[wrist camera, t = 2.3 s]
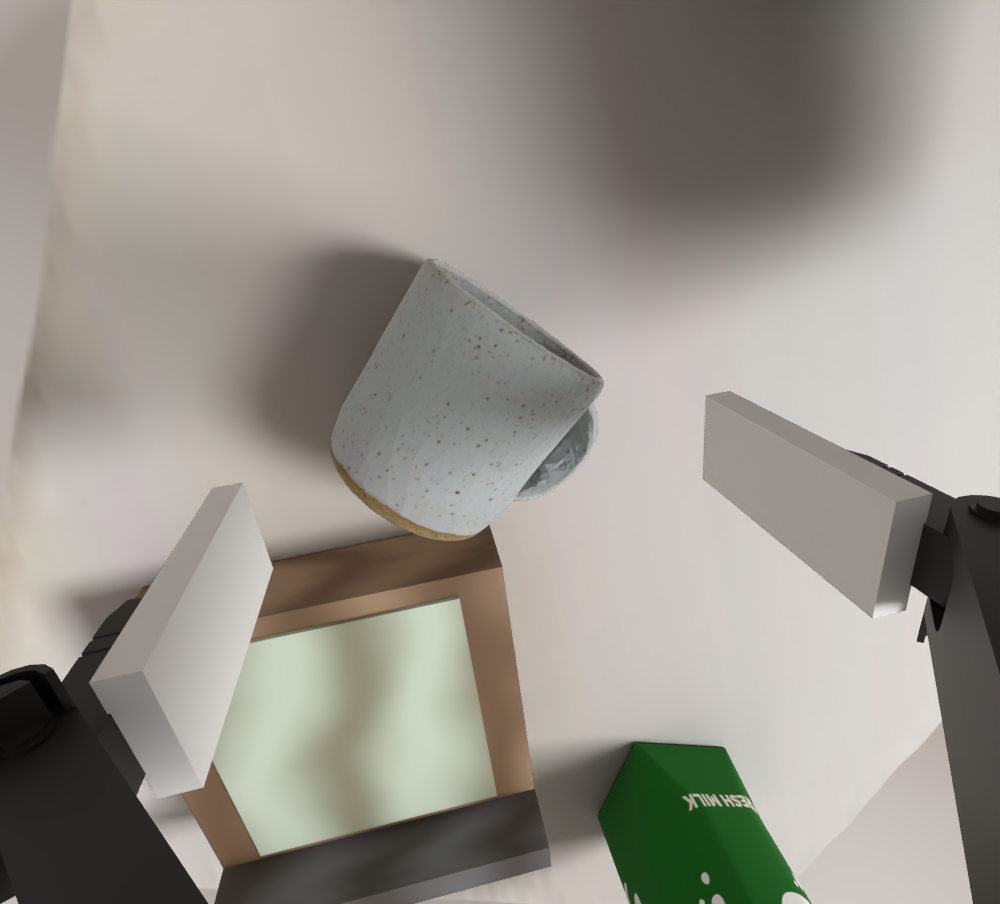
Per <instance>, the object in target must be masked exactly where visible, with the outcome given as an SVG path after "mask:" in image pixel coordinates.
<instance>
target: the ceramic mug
mask: <svg viewBox="0 0 1000 904" xmlns="http://www.w3.org/2000/svg"><path fill="white" fill-rule="evenodd" d="M603 386H604V381H603V378H602V377H601V376H600V375H599V374H598V373H597V372H596V371H595V370H594V369H593V368H592V367H591V366H589V365H588V364H587V363H586V362H584V361H583V360H582V359H580V358H579V357H578V356H577V355H576V354H575V353H573V352H572V351H571V350H569V349H568V348H567V347H565V346H564V345H563V344H562V343H561V342H559V341H558V340H557V339H555V338H554V337H552V336H551V335H550V334H549V333H547V332H546V331H545V330H544V329H542V328H541V327H540V326H538V325H537V324H536V323H535V322H533V321H531V320H530V319H528V318H526V317H525V316H524V315H522V314H521V313H519V312H518V311H517V310H516V309H515V308H513V307H512V306H511V305H509V304H508V303H506V302H505V301H503V300H502V299H500V298H499V297H497V296H496V295H494V294H493V293H491V292H490V291H489V290H488V289H486V288H485V287H483V286H481V285H479V284H478V283H477V282H475V281H474V280H472V279H470V278H469V277H467V276H465V275H464V274H462V273H461V272H459V271H458V270H456V269H454V268H452V267H451V266H449V265H448V264H446V263H443V262H440V261H439V260H437V259H428V260H426V261H425V262H424V263H423V264H422V265H421V267H420V269H419V271H418V272H417V274H416V276H415V278H414V280H413V282H412V283H411V285H410V287H409V289H408V291H407V292H406V294H405V296H404V298H403V299H402V301H401V303H400V304H399V306H398V308H397V310H396V311H395V313H394V315H393V317H392V319H391V320H390V322H389V324H388V326H387V327H386V329H385V331H384V333H383V334H382V336H381V338H380V340H379V342H378V343H377V345H376V347H375V349H374V351H373V353H372V355H371V357H370V358H369V360H368V362H367V364H366V365H365V367H364V369H363V371H362V372H361V374H360V376H359V378H358V379H357V381H356V383H355V384H354V386H353V388H352V390H351V391H350V393H349V395H348V396H347V398H346V400H345V401H344V403H343V405H342V407H341V410H340V412H339V415H338V418H337V421H336V423H335V426H334V429H333V432H332V435H331V441H330V444H331V455H332V458H333V461H334V464H335V466H336V469H337V471H338V473H339V474H340V476H341V477H342V479H343V480H344V482H345V483H346V485H347V486H348V487H349V488H350V490H351V491H352V492H353V493H354V494H355V495H356V496H357V497H358V498H359V499H360V500H361V501H362V502H363V503H364V504H366V505H367V506H368V507H369V508H370V509H372V510H373V511H374V512H375V513H377V514H378V515H380V516H381V517H383V518H385V519H386V520H388V521H389V522H391V523H393V524H395V525H396V526H398V527H400V528H402V529H404V530H407V531H409V532H412V533H414V534H417V535H419V536H422V537H426V538H430V539H435V540H443V541H458V540H465V539H468V538H471V537H473V536H475V535H476V534H478V533H479V532H480V531H482V530H483V529H484V528H486V527H487V526H488V525H489V524H490V523H491V522H493V521H494V520H495V519H496V518H497V517H498V516H499V515H500V514H501V513H502V512H503V510H504V509H505V508H506V507H507V506H508V505H509V504H510V503H511V502H512V501H524V500H531V499H534V498H537V497H539V496H541V495H544V494H546V493H547V492H549V491H551V490H553V489H554V488H556V487H557V486H558V485H560V484H561V483H562V482H564V481H565V480H566V479H567V478H568V477H569V476H570V475H571V474H572V473H573V472H574V471H575V470H576V469H577V468H578V467H579V466H580V465H581V464H582V462H583V461H584V460H585V458H586V457H587V456H588V454H589V452H590V450H591V449H592V447H593V445H594V442H595V440H596V437H597V433H598V417H597V411H596V409H595V406H594V404H593V401H594V400H595V399H596V398H597V397H598V395H599V394H600V393H601V391H602V388H603ZM569 430H570V431H569ZM568 431H569V432H568ZM567 433H568V434H567ZM566 434H567V435H566ZM565 435H566V437H565V438H564V439H563V440H562V438H563V437H564V436H565ZM561 440H562V441H561ZM560 441H561V443H560V444H559V445H558V446H557V444H558V443H559V442H560ZM556 446H557V447H556ZM555 447H556V448H555ZM554 448H555V449H554ZM553 449H554V450H553ZM552 450H553V451H552ZM551 451H552V452H551ZM550 453H551V454H550ZM549 454H550V455H549ZM548 455H549V456H548ZM547 456H548V457H547ZM546 457H547V459H545V458H546Z"/></svg>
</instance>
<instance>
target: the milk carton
mask: <svg viewBox="0 0 1000 904" xmlns="http://www.w3.org/2000/svg"><path fill="white" fill-rule="evenodd" d="M598 819H599V822H600V824H601V827H602V830H603V833H604V835H605V838H606V841H607V844H608V846H609V849H610V852H611V855H612V858H613V860H614V863H615V866H616V869H617V871H618V874H619V877H620V880H621V882H622V885H623V888H624V891H625V894H626V897H627V900H628V902H629V904H811V902H810V900H809V899H808V897H807V895H806V894H805V892H804V891H803V889H802V887H801V886H800V884H799V882H798V880H797V879H796V877H795V875H794V874H793V872H792V871H791V869H790V867H789V866H788V864H787V862H786V861H785V859H784V857H783V856H782V854H781V852H780V851H779V849H778V847H777V846H776V844H775V842H774V841H773V839H772V837H771V836H770V834H769V832H768V831H767V829H766V827H765V826H764V824H763V822H762V820H761V818H760V816H759V814H758V812H757V810H756V808H755V806H754V804H753V802H752V800H751V798H750V797H749V795H748V793H747V791H746V789H745V787H744V785H743V783H742V781H741V779H740V777H739V775H738V773H737V771H736V769H735V767H734V765H733V763H732V761H731V759H730V757H729V755H728V753H727V751H726V749H725V748H721V747H703V746H686V745H669V744H652V743H636V742H635V743H634V745H633V747H632V749H631V751H630V753H629V755H628V757H627V759H626V761H625V763H624V765H623V767H622V769H621V771H620V773H619V775H618V777H617V779H616V781H615V783H614V785H613V787H612V789H611V791H610V793H609V795H608V797H607V799H606V801H605V803H604V805H603V807H602V809H601V811H600V813H599V815H598Z"/></svg>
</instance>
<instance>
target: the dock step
mask: <svg viewBox="0 0 1000 904" xmlns="http://www.w3.org/2000/svg"><path fill="white" fill-rule="evenodd" d="M271 563H272V566H273V570H272V573H271V577H270V580H269V583H268V586H267V589H266V592H265V596H264V599H263V602H262V605H261V608H260V611H259V614H258V618H257V621H256V624H255V627H254V630H253V633H252V636H251V640H250V643H249V646H248V649H247V652H246V655H245V658H244V662H243V665H242V668H241V671H240V674H239V677H238V680H237V684H236V687H235V690H234V693H233V696H232V699H231V703H230V706H229V709H228V712H227V715H226V718H225V721H224V725H223V728H222V731H221V734H220V737H219V740H218V743H217V747H216V750H215V753H214V756H213V759H212V762H211V765H210V769H209V772H208V775H207V778H206V781H205V784H204V787H203V788H199V789H195V790H192V791H188V792H184V793H181V794H182V796H183V797H184V799H185V801H186V803H187V804H188V806H189V808H190V810H191V812H192V813H193V815H194V817H195V819H196V820H197V822H198V824H199V826H200V828H201V829H202V831H203V833H204V835H205V836H206V838H207V840H208V842H209V844H210V845H211V847H212V849H213V851H214V852H215V854H216V856H217V858H218V859H219V861H220V863H221V865H222V867H223V868H224V869H223V873H222V876H221V880H220V884H219V888H218V892H217V896H216V900H215V903H214V904H414V903H418V902H422V901H425V900H429V899H433V898H436V897H440V896H444V895H447V894H451V893H455V892H458V891H462V890H466V889H469V888H473V887H477V886H480V885H484V884H488V883H491V882H495V881H499V880H502V879H506V878H510V877H513V876H517V875H521V874H524V873H528V872H532V871H535V870H539V869H543V868H546V867H550V866H551V860H550V853H549V847H548V843H547V838H546V834H545V830H544V826H543V822H542V818H541V814H540V810H539V806H538V801H537V797H536V793H535V789H534V782H533V776H532V769H531V762H530V755H529V748H528V741H527V734H526V727H525V720H524V714H523V707H522V700H521V693H520V686H519V679H518V672H517V665H516V658H515V652H514V645H513V638H512V631H511V624H510V617H509V610H508V603H507V596H506V590H505V583H504V576H503V569H502V565H501V561H500V558H499V555H498V551H497V548H496V545H495V542H494V538H493V535H492V532H491V529H490V525H488V526H487V527H486V528H484V529H483V530H482V531H480V532H479V533H478V534H476V535H475V536H473V537H471V538H468V539H465V540H458V541H443V540H435V539H430V538H426V537H422V536H419V535H417V534H410V535H405V536H400V537H395V538H389V539H384V540H379V541H374V542H369V543H364V544H359V545H354V546H349V547H344V548H339V549H334V550H329V551H324V552H319V553H314V554H309V555H304V556H299V557H294V558H289V559H284V560H278V561H273V562H271ZM149 587H150V586H147V587H143V588H142V590H141V591H140V593H139V594H138V596H137V597H136V598H141V597H144V595H145V594H146V592H147V591H148V589H149Z"/></svg>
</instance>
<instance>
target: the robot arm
mask: <svg viewBox="0 0 1000 904" xmlns="http://www.w3.org/2000/svg"><path fill="white" fill-rule="evenodd" d="M703 479H704V480H705V481H706V482H707V483H708V484H710V485H711V486H712V487H713V488H715V489H716V490H717V491H718V492H719V493H721V494H722V495H723V496H724V497H725V498H727V499H728V500H729V501H730V502H732V503H733V504H734V505H735V506H736V507H738V508H739V509H740V510H741V511H742V512H744V513H745V514H746V515H747V516H749V517H750V518H751V519H752V520H753V521H755V522H756V523H757V524H758V525H759V526H761V527H762V528H763V529H764V530H766V531H767V532H768V533H769V534H770V535H772V536H773V537H774V538H775V539H776V540H778V541H779V542H780V543H781V544H783V545H784V546H785V547H786V548H787V549H789V550H790V551H791V552H792V553H793V554H795V555H796V556H797V557H798V558H800V559H801V560H802V561H803V562H804V563H806V564H807V565H808V566H809V567H810V568H812V569H813V570H814V571H815V572H817V573H818V574H819V575H820V576H821V577H823V578H824V579H825V580H826V581H827V582H829V583H830V584H831V585H832V586H834V587H835V588H836V589H837V590H838V591H840V592H841V593H842V594H843V595H844V596H846V597H847V598H848V599H849V600H851V601H852V602H853V603H854V604H855V605H857V606H858V607H859V608H860V609H861V610H863V611H864V612H865V613H866V614H868V615H869V616H870V617H871V618H872V619H873V618H877V617H881V616H885V615H889V614H893V613H897V612H900V611H904V610H906V606H907V602H908V598H909V593H910V589H911V585H912V586H913V587H915V588H916V589H918V590H919V591H921V592H922V593H923V594H925V595H926V596H928V598H927V602H926V606H925V610H924V614H923V618H922V622H921V626H920V630H919V633H918V638H917V642H921V643H924V639H925V636H927V635H928V639H929V645H930V651H931V657H932V663H933V669H934V675H935V681H936V687H937V693H938V699H939V705H940V710H941V716H942V722H943V728H944V734H945V740H946V746H947V752H948V758H949V764H950V770H951V776H952V781H953V787H954V793H955V799H956V805H957V811H958V817H959V823H960V828H961V835H962V841H963V846H964V853H965V858H966V864H967V870H968V876H969V882H970V888H971V893H972V900H973V904H1000V498H997V497H992V496H982V495H969V496H962V497H958V498H956V499H955V498H953V497H951V496H949V495H947V494H945V493H943V492H941V491H939V490H937V489H935V488H933V487H931V486H929V485H927V484H925V483H923V482H921V481H919V480H917V479H915V478H913V477H911V476H909V475H905V476H904V473H902V472H900V471H898V470H896V469H894V468H892V467H890V468H889V467H888V465H886V464H884V463H882V462H880V461H878V460H876V459H874V458H872V457H870V456H867V455H864V454H860V453H856V452H853V451H849V450H846V449H844V448H842V447H840V446H838V445H836V444H834V443H832V442H830V441H828V440H826V439H824V438H822V437H820V436H818V435H816V434H814V433H812V432H810V431H808V430H806V429H804V428H802V427H800V426H798V425H796V424H794V423H792V422H790V421H788V420H786V419H784V418H782V417H780V416H778V415H776V414H774V413H772V412H770V411H768V410H766V409H764V408H762V407H760V406H758V405H756V404H754V403H752V402H750V401H748V400H746V399H744V398H743V397H741V396H739V395H737V394H735V393H733V392H731V391H728V392H722V393H717V394H712V395H706V401H705V429H704V458H703ZM272 570H273V566H272V563H271V561H270V558H269V555H268V552H267V549H266V547H265V544H264V541H263V538H262V535H261V533H260V530H259V527H258V524H257V521H256V518H255V516H254V513H253V510H252V507H251V504H250V502H249V499H248V496H247V493H246V490H245V488H244V485H243V483H238V484H233V485H227V486H222V487H217V488H212V490H211V491H210V493H209V494H208V496H207V498H206V499H205V501H204V502H203V504H202V506H201V507H200V509H199V510H198V512H197V513H196V515H195V517H194V518H193V520H192V521H191V523H190V524H189V526H188V528H187V529H186V531H185V532H184V534H183V535H182V537H181V539H180V540H179V542H178V543H177V545H176V546H175V548H174V550H173V551H172V553H171V554H170V556H169V557H168V559H167V561H166V562H165V564H164V565H163V567H162V569H161V570H160V572H159V573H158V575H157V576H156V578H155V580H154V581H153V583H152V584H151V586H150V587H149V589H148V591H147V592H146V594H145V595H144V597H141V598H136V599H132V600H127V601H126V602H125V603H124V604H123V605H122V606H120V607H119V608H118V609H117V610H116V611H114V612H113V613H112V614H111V615H110V616H109V617H107V618H106V619H105V621H104V622H103V624H102V625H101V627H100V628H99V629H98V631H97V632H96V634H95V635H94V637H93V641H90V642H89V644H88V645H87V647H86V648H85V650H84V651H83V652H82V657H79V658H78V660H77V661H76V663H75V664H74V665H73V667H72V668H71V670H70V671H69V673H68V674H67V676H66V677H65V678H64V680H63V681H62V682H61V681H60V679H59V678H58V676H57V674H56V673H55V671H54V669H52V668H51V667H49V666H47V665H45V664H40V665H28V666H24V667H21V668H17V669H13V670H10V671H8V672H6V673H4V674H2V675H0V904H1V903H3V902H5V901H6V900H8V899H10V898H12V897H14V896H16V898H17V901H18V903H19V904H208V903H207V901H206V900H205V898H204V897H203V895H202V894H201V892H200V891H199V889H198V888H197V886H196V885H195V883H194V882H193V880H192V879H191V877H190V876H189V874H188V873H187V871H186V870H185V868H184V867H183V865H182V864H181V862H180V861H179V859H178V858H177V856H176V855H175V853H174V852H173V850H172V849H171V847H170V846H169V844H168V843H167V841H166V840H165V838H164V837H163V835H162V834H161V832H160V831H159V829H158V828H157V826H156V825H155V823H154V822H153V820H152V819H151V817H150V816H149V814H148V813H147V811H146V810H145V808H144V807H143V805H142V804H141V802H140V801H139V799H138V798H137V796H136V795H137V793H138V791H139V788H140V786H141V784H142V781H143V779H144V777H145V779H146V781H147V782H148V784H149V786H150V787H151V789H152V791H153V792H154V794H155V796H156V798H157V799H160V798H164V797H168V796H172V795H176V794H180V793H184V792H188V791H192V790H195V789H199V788H203V787H204V784H205V781H206V778H207V775H208V772H209V769H210V765H211V762H212V759H213V756H214V753H215V750H216V747H217V743H218V740H219V737H220V734H221V731H222V728H223V725H224V721H225V718H226V715H227V712H228V709H229V706H230V703H231V699H232V696H233V693H234V690H235V687H236V684H237V680H238V677H239V674H240V671H241V668H242V665H243V662H244V658H245V655H246V652H247V649H248V646H249V643H250V640H251V636H252V633H253V630H254V627H255V624H256V621H257V618H258V614H259V611H260V608H261V605H262V602H263V599H264V596H265V592H266V589H267V586H268V583H269V580H270V577H271V573H272Z"/></svg>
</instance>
